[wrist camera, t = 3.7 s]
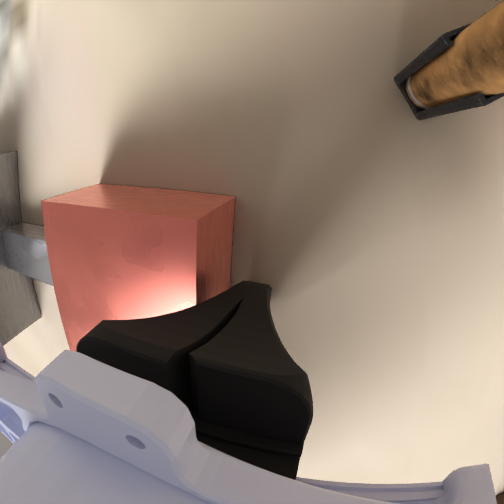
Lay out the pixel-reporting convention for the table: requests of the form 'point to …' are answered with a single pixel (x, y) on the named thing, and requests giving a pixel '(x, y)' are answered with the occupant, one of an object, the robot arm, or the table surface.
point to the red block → (135, 252)
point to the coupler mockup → (18, 257)
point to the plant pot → (500, 499)
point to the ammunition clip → (458, 69)
